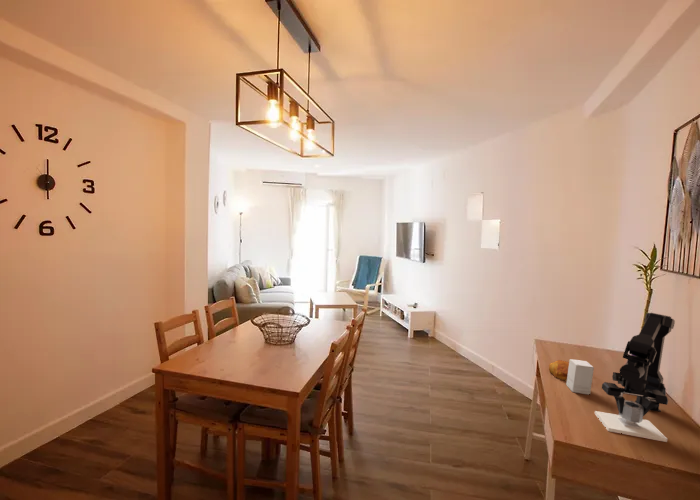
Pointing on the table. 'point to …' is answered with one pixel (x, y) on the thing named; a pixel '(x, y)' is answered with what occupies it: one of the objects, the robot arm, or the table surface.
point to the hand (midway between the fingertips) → (630, 414)
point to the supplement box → (579, 376)
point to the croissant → (559, 369)
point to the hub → (632, 411)
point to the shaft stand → (630, 426)
